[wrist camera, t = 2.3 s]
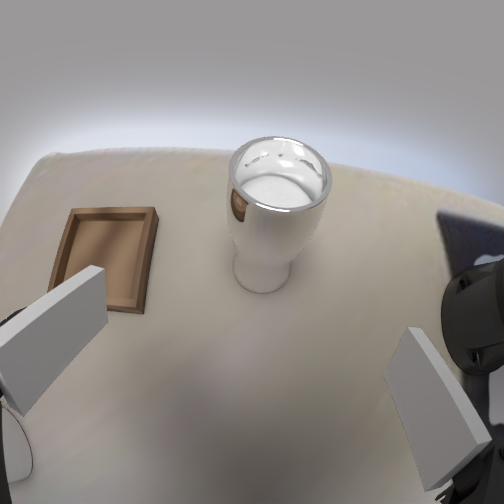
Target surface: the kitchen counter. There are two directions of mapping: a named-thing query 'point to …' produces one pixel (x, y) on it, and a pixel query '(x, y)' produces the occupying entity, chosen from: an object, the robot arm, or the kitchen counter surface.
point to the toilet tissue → (15, 449)
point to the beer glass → (273, 207)
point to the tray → (110, 252)
